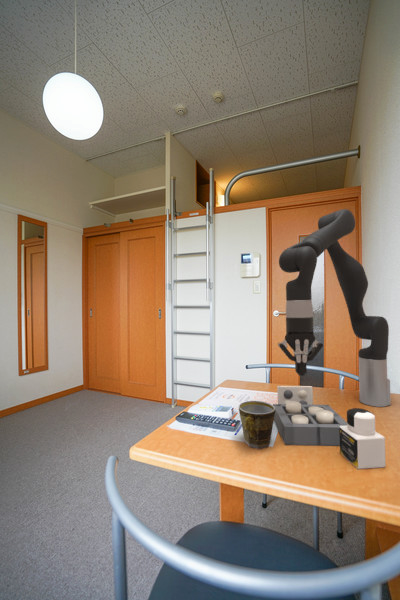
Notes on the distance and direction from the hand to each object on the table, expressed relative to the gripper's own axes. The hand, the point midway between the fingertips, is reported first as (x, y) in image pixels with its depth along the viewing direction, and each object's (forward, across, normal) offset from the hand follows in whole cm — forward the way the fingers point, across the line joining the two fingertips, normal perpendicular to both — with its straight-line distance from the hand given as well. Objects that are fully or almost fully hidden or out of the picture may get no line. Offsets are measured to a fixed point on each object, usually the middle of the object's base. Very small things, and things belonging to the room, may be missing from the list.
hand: (300, 374), depth 81 cm
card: (+18, -3, -18) cm, 25 cm away
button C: (+14, +1, -6) cm, 15 cm away
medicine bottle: (+18, -11, +12) cm, 24 cm away
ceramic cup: (+18, +14, +6) cm, 24 cm away
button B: (+14, -6, +1) cm, 15 cm away
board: (+18, -3, -3) cm, 18 cm away
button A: (+15, -6, -6) cm, 18 cm away
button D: (+15, +1, +1) cm, 15 cm away
